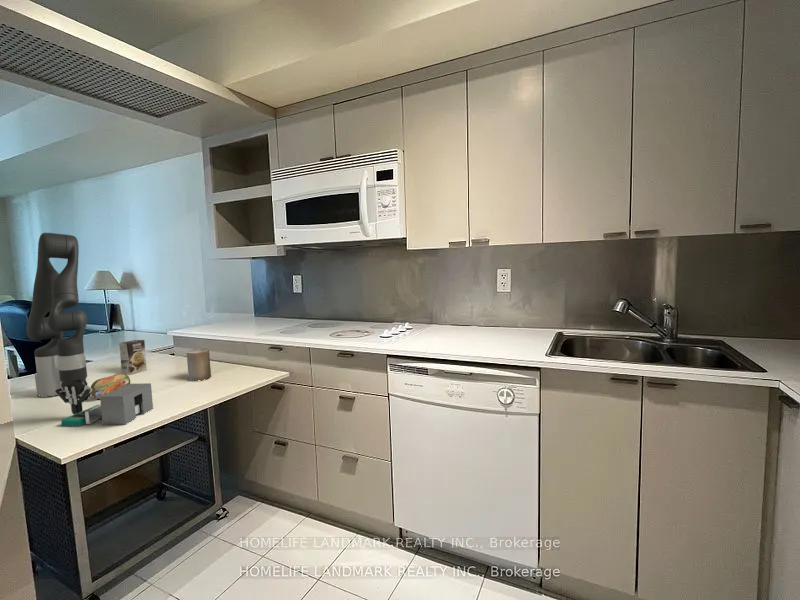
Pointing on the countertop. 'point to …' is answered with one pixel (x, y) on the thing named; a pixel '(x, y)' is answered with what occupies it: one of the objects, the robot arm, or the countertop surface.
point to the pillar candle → (198, 364)
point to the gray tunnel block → (125, 403)
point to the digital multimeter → (75, 419)
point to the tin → (109, 384)
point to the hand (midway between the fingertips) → (77, 413)
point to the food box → (133, 356)
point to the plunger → (96, 413)
